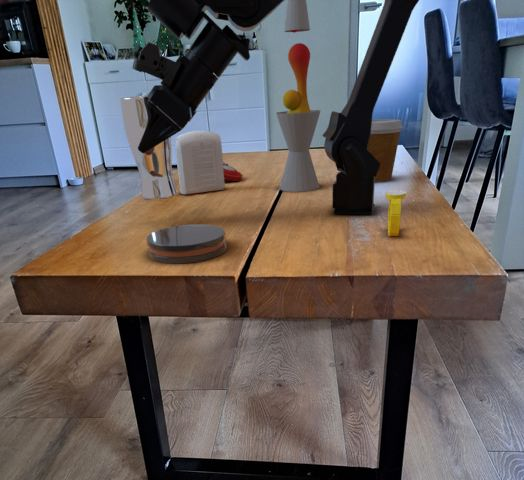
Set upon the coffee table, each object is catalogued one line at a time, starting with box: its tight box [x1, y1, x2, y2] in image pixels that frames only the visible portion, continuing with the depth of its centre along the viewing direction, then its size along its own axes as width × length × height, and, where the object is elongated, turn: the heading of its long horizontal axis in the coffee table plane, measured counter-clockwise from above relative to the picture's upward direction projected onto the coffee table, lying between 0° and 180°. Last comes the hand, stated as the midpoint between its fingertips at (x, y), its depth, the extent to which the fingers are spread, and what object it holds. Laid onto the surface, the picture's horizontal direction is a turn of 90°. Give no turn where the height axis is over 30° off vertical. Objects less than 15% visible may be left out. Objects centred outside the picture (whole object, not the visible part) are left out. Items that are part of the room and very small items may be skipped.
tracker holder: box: [223, 161, 243, 182], centre depth 120 cm, size 12×4×10 cm
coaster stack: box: [146, 223, 227, 264], centre depth 69 cm, size 11×11×2 cm
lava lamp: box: [275, 0, 321, 193], centre depth 98 cm, size 9×9×35 cm
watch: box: [385, 189, 407, 237], centre depth 70 cm, size 6×3×6 cm, turn 170°
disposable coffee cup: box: [367, 118, 404, 183], centre depth 107 cm, size 10×10×12 cm
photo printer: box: [174, 130, 226, 195], centre depth 106 cm, size 10×4×12 cm, turn 117°
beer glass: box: [119, 94, 179, 201], centre depth 78 cm, size 7×7×15 cm
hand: (143, 148), depth 78 cm, fingers closed on beer glass, 7 cm apart
